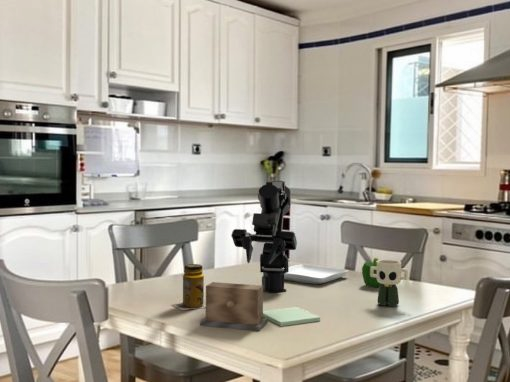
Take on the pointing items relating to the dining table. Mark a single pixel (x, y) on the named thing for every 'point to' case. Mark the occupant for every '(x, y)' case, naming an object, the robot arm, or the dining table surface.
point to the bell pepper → (366, 274)
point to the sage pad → (290, 316)
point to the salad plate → (313, 274)
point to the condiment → (192, 288)
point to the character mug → (388, 280)
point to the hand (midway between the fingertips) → (258, 262)
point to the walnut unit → (234, 306)
